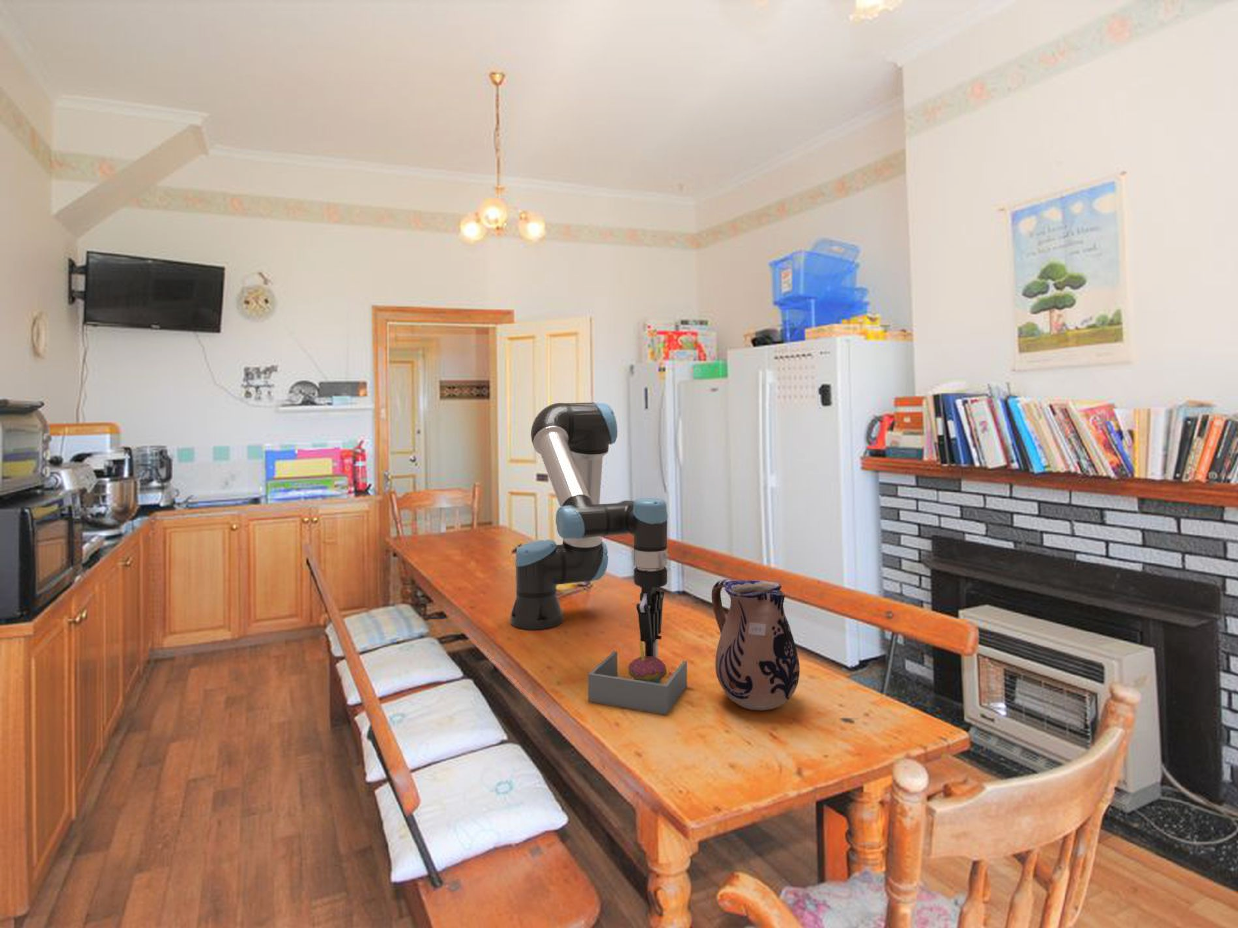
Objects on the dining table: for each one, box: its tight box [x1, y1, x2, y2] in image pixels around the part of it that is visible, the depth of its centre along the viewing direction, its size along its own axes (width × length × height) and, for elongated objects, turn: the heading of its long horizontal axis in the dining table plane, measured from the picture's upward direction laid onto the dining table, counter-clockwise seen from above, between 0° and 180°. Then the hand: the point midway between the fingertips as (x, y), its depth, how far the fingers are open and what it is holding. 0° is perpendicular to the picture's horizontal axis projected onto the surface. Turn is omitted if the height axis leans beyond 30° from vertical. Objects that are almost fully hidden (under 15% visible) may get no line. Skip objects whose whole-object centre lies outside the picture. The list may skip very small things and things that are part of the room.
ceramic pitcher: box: [711, 578, 801, 711], centre depth 143 cm, size 18×21×25 cm
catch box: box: [587, 650, 688, 716], centre depth 147 cm, size 18×15×6 cm
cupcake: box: [627, 638, 668, 684], centre depth 150 cm, size 9×8×12 cm
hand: (651, 667), depth 154 cm, fingers closed
